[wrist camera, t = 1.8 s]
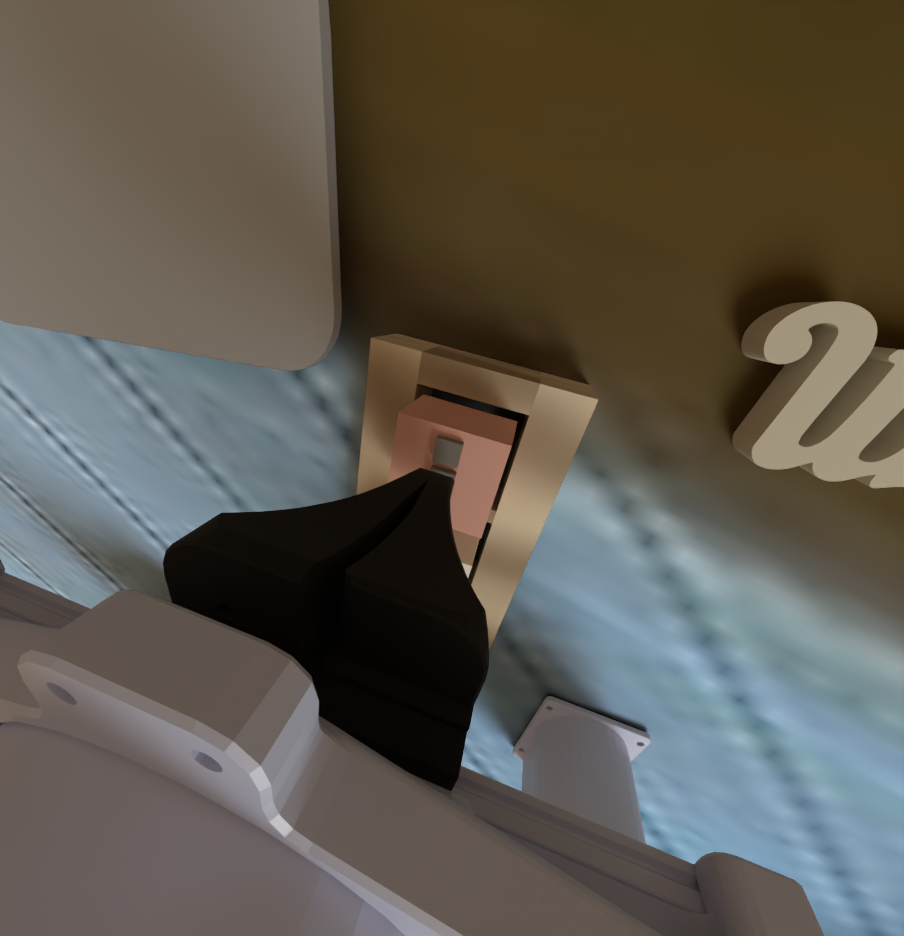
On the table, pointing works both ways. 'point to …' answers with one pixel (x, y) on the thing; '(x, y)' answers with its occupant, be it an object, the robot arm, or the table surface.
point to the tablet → (171, 175)
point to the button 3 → (455, 454)
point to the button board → (534, 459)
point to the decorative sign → (826, 395)
